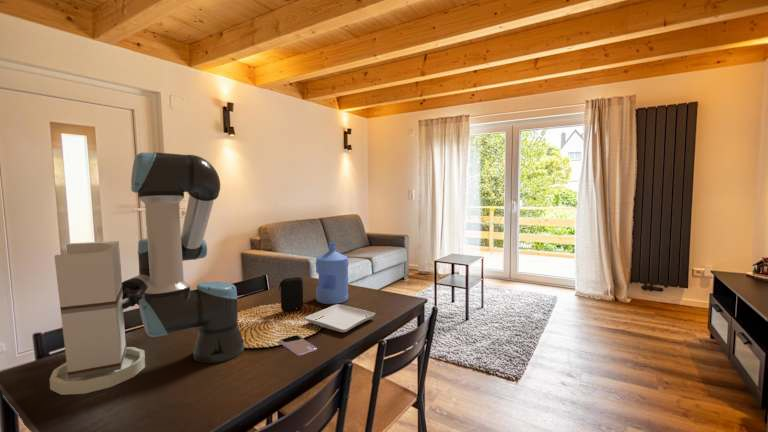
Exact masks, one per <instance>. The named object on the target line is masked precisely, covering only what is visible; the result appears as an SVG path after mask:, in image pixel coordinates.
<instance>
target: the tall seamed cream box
mask: <svg viewBox="0 0 768 432" xmlns="http://www.w3.org/2000/svg"><path fill="white" fill-rule="evenodd" d="M120 251H121V249H120V240H116V241H115V240H113V241H112V240H111V241H94V242H91V241H89V242H71V243H70V242H67V243H66V253H67V254H55V255H54V266H55V272H56V282H57V292H58V298H59V299H58V300H59V308H60V316H61V317H60V318H61V327H62V335H63V343H64V352H65V359H66V361H65V362H67V370H68V379H71V378H77V377H82V376H87V375H93V374H98V373H104V372H109V371H114V370H120V369H121V367H122V363H123V360H124V356H125V353H126V349H127V347H128V346H127V342H126V330H125V318H124V317H125V316H124V310H123V311H121V312H120V309H119V302H120V301H121V300H122V297H123V290H122V282H123V279H122V277H123V276H122V266H121V265H122V263H121V252H120Z"/></svg>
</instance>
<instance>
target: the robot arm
mask: <svg viewBox="0 0 768 432" xmlns="http://www.w3.org/2000/svg"><path fill="white" fill-rule="evenodd" d="M130 180H131V181H130V182H131V192H133V193H135V194H137V195H138V196H137V197H138V198H137V199H138V200H140V201H141V202H143V204H144V205H145V206H144V207H145V222H146V224H145V225H146V235H147V236H146V237H147V238H141V239H140V240H138V244H137V246H138V247H137V248H138V249H137V254H138V255H137V256H138V257H137V258H138V275H136V276H133V277H131V278H129V279H127V280H124V281H122V290H123V297H122V300H121V301H120V302H119V309H120V312H121V311H123V312H124V310H126V309H128V308H130V307H135V306H136V305H137V306H138V307H139V308H138V309H139V313H140V318H141V321H142V324H143V328H144V331H145V333H146V335H148V336H149V337H151V338H156V337H162V336H168V335H171V334H175V333H178V332H179V333H180V332H183V331H188V330H191V329H196V328H198V334H197V338H196V341H195V345H194V347H193V353H192V354H193V355H192V356H193V359H194V360H195V361H196V362H198V363H201V364H214V363H215V364H217V363H221V362H225V361H228V360H232V359H234V358H237V357H238V356H239V355H241V354H242V353H243V352H244V350H245V341H244V339H243V336H242V334H241V331H240V329H239V323H238V321H239V320H238V319H239V317H238V314H239V313H238V299H239V297H238V293H237V287H236V285H235V284H233V283H231V282H226V281H204V282H200V283H198V284H197V286H196V289H193V290H191V286H190V284H189V283H187V282H186V281H185V280H184V279H185V278H184V267H183V266H184V263H183V261H194V260H195V261H196V260H199V259H204V258H206V257H207V254H208V245H207V241H206V240H205V239H204V238H205V234H206V231H207V227H208V224H209V220H210V216H211V212H212V208H213V205H214V201H215V200H217V198H218V197H219V194H220V191H221V180H220V177H219V174H218V172H217V170H216V169H215V166H213V165H212V164H211V163H210V162H209V161H207V159H205V158H203V157H200V156H198V155H194V154H180V153H167V152H156V151H154V152H140V153H138V154H136V155H135V157H134V160H133V165H132V172H131V179H130ZM185 193H187V194H188V195H189V197H188V201H187V206H186V210H185V216H184V221H183V226H182V230H181V220H180V219H181V217H180V215H181V214H180V203H181V201H182V200H183V199H184V198H185Z"/></svg>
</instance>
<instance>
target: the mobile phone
mask: <svg viewBox="0 0 768 432" xmlns="http://www.w3.org/2000/svg"><path fill="white" fill-rule="evenodd" d="M278 343H279V344H281V345H282V346H283V347H285V348H286V349H287V350H288V351H290V352H292V353H293V354H295V356H298V357H300V356H304V355H306V354H310V353H312V352H315V351H317V350H318V347H317V346H315V345H313V343H310V342H309V341H307V340H306V339H304V338H303V337H301V336H299V335H298V334H297V335H296V334H295V335H292V336H288V337H284V338H281V339H279V340H278Z"/></svg>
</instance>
